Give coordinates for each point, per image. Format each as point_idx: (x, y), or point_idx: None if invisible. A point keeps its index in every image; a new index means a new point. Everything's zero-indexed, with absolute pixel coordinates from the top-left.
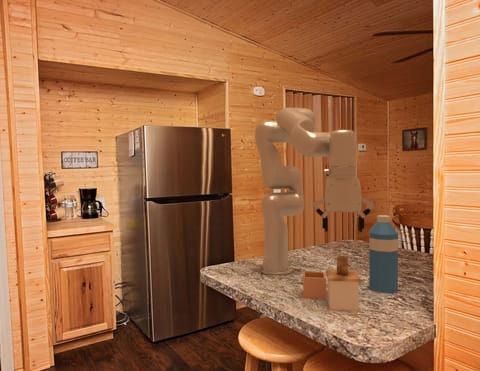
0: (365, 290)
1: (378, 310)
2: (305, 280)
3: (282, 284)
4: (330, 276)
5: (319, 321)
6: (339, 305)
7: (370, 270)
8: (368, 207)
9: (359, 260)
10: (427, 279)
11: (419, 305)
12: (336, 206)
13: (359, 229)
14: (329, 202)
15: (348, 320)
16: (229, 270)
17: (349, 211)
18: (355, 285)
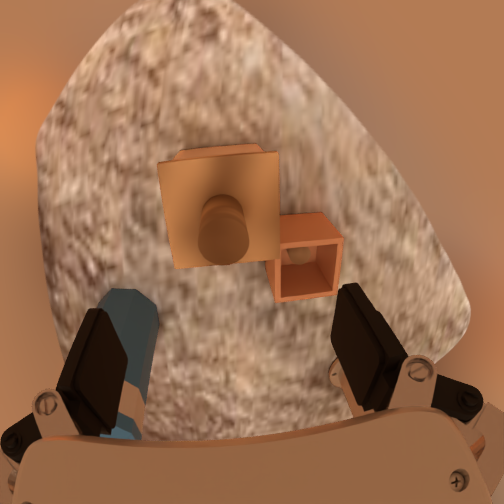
0: (166, 305)
1: (131, 179)
2: (333, 234)
3: None
4: (268, 174)
5: (283, 74)
6: (230, 147)
7: (146, 339)
8: (8, 466)
9: (193, 436)
10: None
11: (54, 236)
12: (351, 489)
13: (102, 321)
14: (457, 497)
15: (209, 93)
16: (436, 339)
17: (144, 443)
18: None
